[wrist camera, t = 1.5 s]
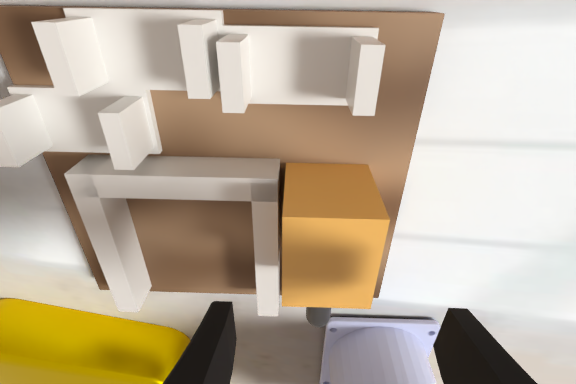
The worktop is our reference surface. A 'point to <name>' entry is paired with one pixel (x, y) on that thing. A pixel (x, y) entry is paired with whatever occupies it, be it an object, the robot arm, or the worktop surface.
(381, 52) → the clip
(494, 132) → the worktop surface
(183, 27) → the clip
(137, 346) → the element tile
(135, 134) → the clip
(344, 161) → the board
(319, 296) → the block
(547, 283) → the worktop surface
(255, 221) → the frame
